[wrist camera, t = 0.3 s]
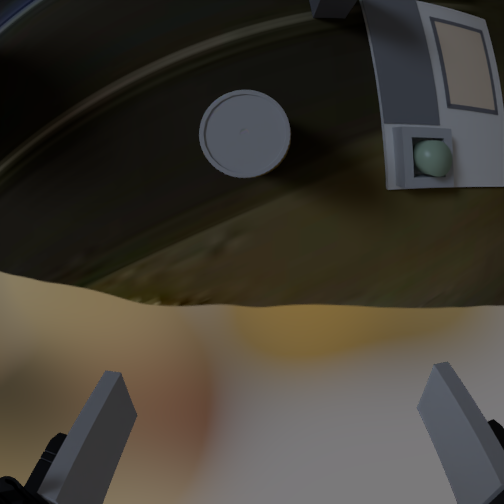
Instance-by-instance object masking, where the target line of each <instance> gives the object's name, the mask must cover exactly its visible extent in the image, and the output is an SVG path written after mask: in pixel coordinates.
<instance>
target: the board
mask: <svg viewBox="0 0 504 504" xmlns="http://www.w3.org/2000/svg"><path fill="white" fill-rule="evenodd" d="M359 1H360V5H361V9H362V13H363V17H364V21H365V25H366V30H367V34H368V39H369V44H370V49H371V54H372V60H373V65H374V71H375V77H376V84H377V91H378V98H379V106H380V114H381V123H382V133H383V144H384V157H385V174H386V189H388V190H394V189H415V188H442V187H504V108H503V100H502V93H501V86H500V81H499V75H498V70H497V65H496V60H495V56H494V51H493V47H492V43H491V39H490V35H489V32H488V28H487V25H486V21H485V19H482V18H479V17H476V16H473V15H470V14H467V13H463V12H460V11H457V10H453V9H450V8H446V7H442V6H438V5H434V4H430V3H426V2H421V1H416V0H359ZM421 140H438V141H442V142H444V143H445V144H446V145H447V146H448V147H449V149H450V151H451V154H452V166H451V168H450V170H449V172H448V173H447V174H446V175H444V176H441V177H437V176H432V175H428V174H424V173H421V172H419V171H417V170H416V169H415V167H414V164H413V146H414V145H415V144H416V143H417V142H418V141H421Z"/></svg>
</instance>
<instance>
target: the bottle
mask: <svg viewBox="0 0 504 504" xmlns="http://www.w3.org/2000/svg"><path fill="white" fill-rule="evenodd" d="M199 131H200V132H199V137H200V138H199V140H200V145H201V147H202V150H203V153H204V154H205V156H206V158H207V159H208V160H209V162H210V163H211V164H212V165H213V166H214V167H216V169H218V170H220V172H223V173H224V174H228V175H229V176H233V177H238V178H241V177H242V178H254V177H258V176H262V175H265V174H267V173H269V172H271V171H272V170H274V169H275V168H277V167H278V166H279V165H280V163H281V162H282V161H283V160H284V158H285V157H286V155H287V153H288V150H289V147H290V144H291V128H290V123H289V122H288V118H287V115H286V114H285V112H284V110H283V109H282V108H281V106H280V105H279V104H278V102H276V101H275V100H274V99H272V98H270V96H267V95H266V94H263V93H261V92H257V91H252V90H238V91H233V92H229V93H227V94H224V95H223V96H221V97H219V98H218V99H216V100H215V101H214V102H213V103H212V104H211V105H210V106H209V107H208V109H207V110H206V112H205V114H204V115H203V118H202V120H201V124H200V129H199Z"/></svg>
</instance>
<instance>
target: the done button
mask: <svg viewBox="0 0 504 504" xmlns="http://www.w3.org/2000/svg"><path fill="white" fill-rule="evenodd" d="M413 164H414V167H415V169H416V170H417V171H419V172H421V173H424V174H428V175H432V176H437V177H441V176H444V175H446V174H447V173H448V172H449V170H450V168H451V166H452V154H451V151H450V149H449V147H448V146H447V145H446V144H445V143H444V142H442V141H438V140H421V141H418V142H417V143H416V144H415V145H414V146H413Z"/></svg>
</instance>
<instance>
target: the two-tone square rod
mask: <svg viewBox="0 0 504 504" xmlns="http://www.w3.org/2000/svg"><path fill="white" fill-rule="evenodd" d="M309 1H310V5H311V10H312V15H313V18H346V16H347V15H348V13H349V12H350V10H351V9H352V7H353V6H354V4H355V3H356V2H357V0H309Z"/></svg>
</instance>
